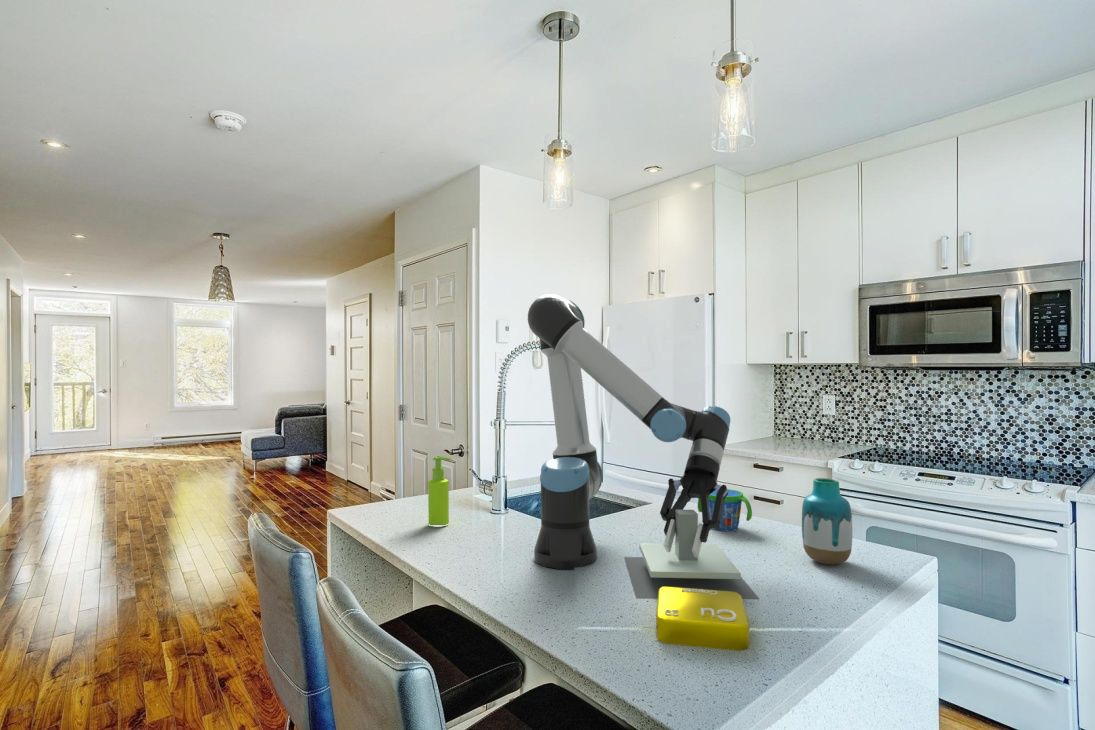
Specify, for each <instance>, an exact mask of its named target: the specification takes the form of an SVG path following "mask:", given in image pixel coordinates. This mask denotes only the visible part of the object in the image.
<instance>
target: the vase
mask: <svg viewBox="0 0 1095 730" xmlns="http://www.w3.org/2000/svg"><path fill="white" fill-rule="evenodd" d="M812 483H813V484H812V492H811V493H810V494H807V495H806V496H805V497H804V499H803V502H802V506H801V536H802V546H803V549H804V551H805V554H806V555H807V556H808V558H810V559H811V560H813V561H816V562H818V563H820V564H825V565H839V564H843V563H845V562H846V561H848V560H849V558H850V555H851V554H852V549H853V548H852V546H853V514H852V513H853V512H852V507H851V505H850V502H849V501H848V500H847V499H846V498H845V497H844V496H842V495H841V492H840V489H841V488H840V482H839V480H837V479H834V478H833V479H832V478H826V477H817V478H814V479H813V481H812Z"/></svg>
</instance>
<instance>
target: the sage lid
mask: <svg viewBox="0 0 1095 730" xmlns="http://www.w3.org/2000/svg"><path fill="white" fill-rule="evenodd" d="M698 524H699V514H698V513H697V512H696V510H695V509H683V510H675V536H674V539H675V542H674V543H672V547H671V551H670V552H666V550H665V547H664V543H654V542H653V543H648V542H647V543H644V542H643V543H641V542H639V547H638V548H639V551H640V553H641V557H643V559H644V561H645V564H646V567H647V569H648V572H649V574H650V577H658V578H709V579H741V577H742V572H740V571H739V569H738V568H737V566H735V565H734V563H733V562H732V561H731V559H730V558H729V557H728V556H727V555H726V553H725V552H724V551H723V550H722V549H721V548H720V546H719V545H718V544H706V543H702V544H701V548H700V552H699V557H698V558H696V557H694V554H693V552H692V548H693V544H694V540H695V536H696V532H697V528H698Z"/></svg>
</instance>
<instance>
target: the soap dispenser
mask: <svg viewBox="0 0 1095 730" xmlns="http://www.w3.org/2000/svg"><path fill="white" fill-rule="evenodd" d="M452 459H453V458H452V457H449V456H435V457H433V458H432V460H433V461H434V462H435V467H434V468H432V479H429V480H428V483H427V485H428V486H427V487H428V492H427V493H428V495H427V496H428V497H427V499H428V525H429V524H430V525H446V524H448V523H449V524H450V512H449V511H450V506H449V505H450V503H449V502H450V498H449V495H450V492H449V491H450V489H449V487H450V486H449V483H450V482H449V481H450V480H449V479H447V478H445V467H442V461H451V460H452Z"/></svg>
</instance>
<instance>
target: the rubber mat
mask: <svg viewBox="0 0 1095 730" xmlns="http://www.w3.org/2000/svg"><path fill="white" fill-rule="evenodd" d="M623 559H624V563H625V565H626V566H625V567H626V569H627V571H628V572H627V573H628V575H629V580H630V583H631V586H632V588H633V589H632V590H633V593H634V596H635V598H636V599H658V591H659V589H660V588H662V587H679V588H692V589H705V590H718V591H731V592H737V593H738V594H739V595H740V596H741V597H742V600H760V598H759V597H758V595H757V594H756V593H755V591H754V590H753V589H752V588H751V586H749V584H748V583H747V582H746V581H745V580H744V578H743V577H742V576H741V579H709V578H658V577H650V574H649V572H648V569H647V567H646V564H645V561H644V559H643V556H639V557H638V556H624V557H623Z"/></svg>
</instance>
